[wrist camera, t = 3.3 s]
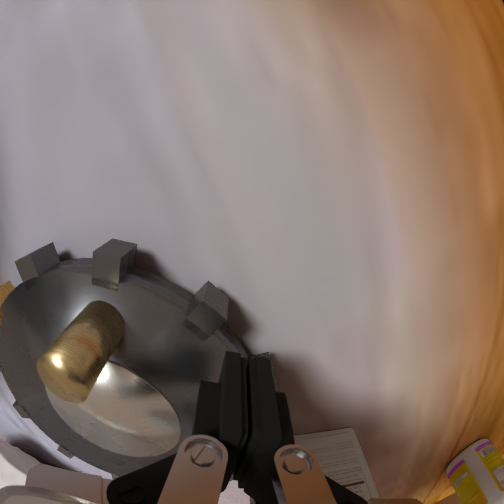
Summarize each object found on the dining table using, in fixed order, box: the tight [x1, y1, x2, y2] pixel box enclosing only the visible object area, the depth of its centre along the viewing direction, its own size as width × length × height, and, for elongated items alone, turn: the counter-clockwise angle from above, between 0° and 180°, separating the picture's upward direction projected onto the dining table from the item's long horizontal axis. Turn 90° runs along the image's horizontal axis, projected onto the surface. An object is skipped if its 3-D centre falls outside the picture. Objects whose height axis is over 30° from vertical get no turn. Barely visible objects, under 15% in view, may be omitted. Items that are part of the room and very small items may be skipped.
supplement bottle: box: [446, 438, 504, 504], centre depth 16 cm, size 7×7×13 cm
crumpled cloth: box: [0, 439, 50, 489], centre depth 16 cm, size 24×35×9 cm
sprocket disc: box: [0, 239, 278, 481], centre depth 12 cm, size 18×18×6 cm
